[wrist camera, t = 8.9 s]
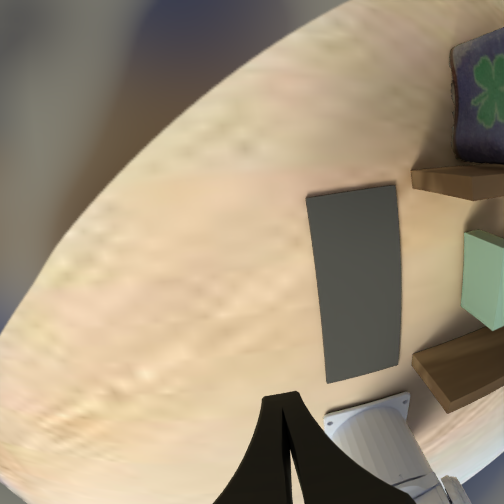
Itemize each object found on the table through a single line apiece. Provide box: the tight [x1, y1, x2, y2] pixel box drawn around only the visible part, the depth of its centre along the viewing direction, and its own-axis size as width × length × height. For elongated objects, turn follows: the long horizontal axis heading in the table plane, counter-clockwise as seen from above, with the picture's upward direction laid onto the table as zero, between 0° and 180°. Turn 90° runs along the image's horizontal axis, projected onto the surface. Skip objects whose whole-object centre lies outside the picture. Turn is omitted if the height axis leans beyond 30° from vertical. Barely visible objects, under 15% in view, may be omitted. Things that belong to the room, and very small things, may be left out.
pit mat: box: [305, 185, 401, 384], centre depth 20 cm, size 14×6×1 cm, turn 10°
